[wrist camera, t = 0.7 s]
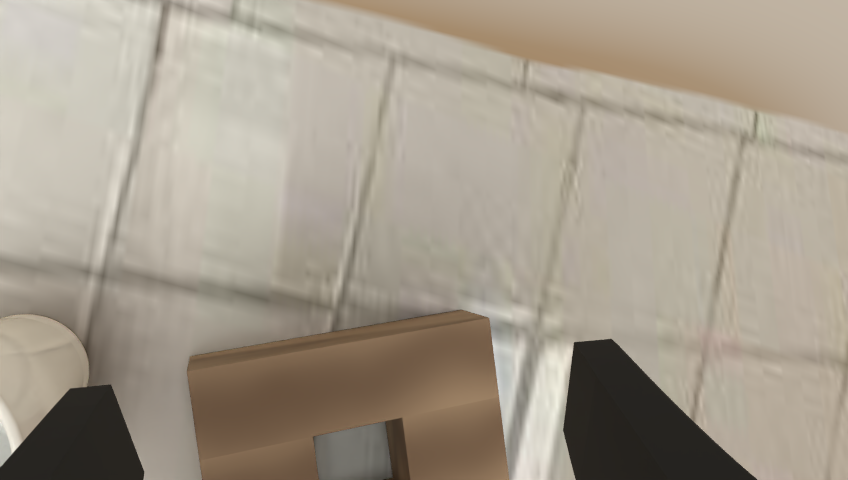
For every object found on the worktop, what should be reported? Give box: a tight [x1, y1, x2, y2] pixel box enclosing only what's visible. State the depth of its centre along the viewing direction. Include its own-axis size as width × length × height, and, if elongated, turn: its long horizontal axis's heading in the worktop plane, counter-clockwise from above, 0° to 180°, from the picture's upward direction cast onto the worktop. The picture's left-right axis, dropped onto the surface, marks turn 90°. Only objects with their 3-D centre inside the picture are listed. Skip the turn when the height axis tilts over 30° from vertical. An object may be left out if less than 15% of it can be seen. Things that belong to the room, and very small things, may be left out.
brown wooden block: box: [187, 310, 509, 480], centre depth 34 cm, size 12×14×4 cm
